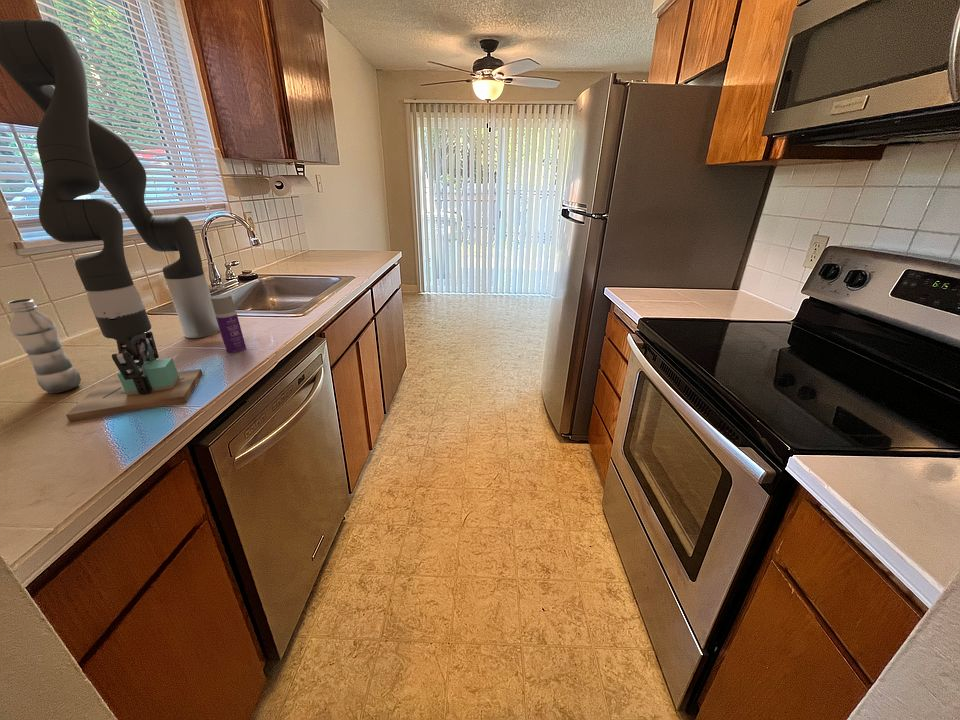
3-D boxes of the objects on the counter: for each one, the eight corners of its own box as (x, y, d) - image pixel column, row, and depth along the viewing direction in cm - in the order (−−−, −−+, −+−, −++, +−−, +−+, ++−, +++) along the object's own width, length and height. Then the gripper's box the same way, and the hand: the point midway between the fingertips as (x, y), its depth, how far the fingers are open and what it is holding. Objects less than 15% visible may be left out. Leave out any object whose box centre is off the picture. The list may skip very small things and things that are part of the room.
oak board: (103, 388, 87) (100, 382, 87) (203, 374, 93) (201, 368, 93) (69, 421, 75) (65, 414, 75) (186, 402, 81) (183, 395, 81)
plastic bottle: (49, 399, 83) (0, 307, 75) (39, 391, 87) (-8, 302, 78) (89, 387, 88) (47, 299, 80) (78, 380, 92) (37, 295, 83)
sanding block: (136, 385, 85) (127, 363, 83) (179, 378, 88) (172, 357, 86) (126, 395, 81) (117, 373, 79) (173, 388, 84) (165, 366, 82)
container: (237, 355, 103) (221, 299, 97) (222, 354, 104) (205, 298, 98) (250, 348, 108) (235, 294, 101) (235, 347, 109) (220, 293, 102)
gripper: (111, 302, 82) (141, 376, 89) (76, 323, 70) (114, 407, 77) (155, 298, 85) (181, 370, 92) (128, 318, 72) (161, 399, 79)
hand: (150, 386), depth 84 cm, fingers closed on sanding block, 5 cm apart
